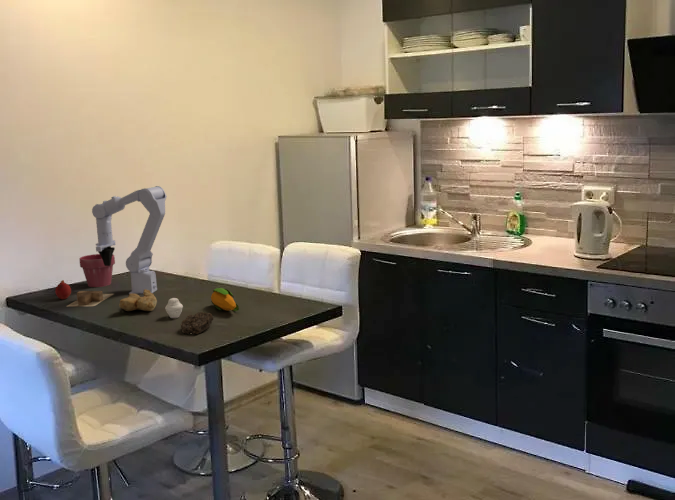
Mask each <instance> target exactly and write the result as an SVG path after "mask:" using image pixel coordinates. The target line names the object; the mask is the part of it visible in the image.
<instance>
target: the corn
mask: <svg viewBox="0 0 675 500" xmlns="http://www.w3.org/2000/svg"><path fill="white" fill-rule="evenodd" d="M210 299H211V301H210V302H211V304H212V305H213V306H214V307H215V308H216V309H218V310H219V311H222V310H223V311H233V312H238V311H239V310H240V308H239V305H238V304H237V303H236V302H235V300H234V295H233V293H232V292H231V291H230V290H229V289H227V288H224V287H220V288H219V287H217V288H215V289H213V290H212V293H211V296H210Z"/></svg>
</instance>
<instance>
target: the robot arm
mask: <svg viewBox="0 0 675 500" xmlns="http://www.w3.org/2000/svg"><path fill="white" fill-rule="evenodd" d="M166 200H167V193H166V191H165V190H164V188H163V187H161V186H160V185H159V186H158V185H156V186H154V187H147V188H145V187H144V188H141V189H137V190H134V191H132V192H131V193H129V194H127V195H123V196H122V197H121V196H116V195H113V196H112V197H111V198H110V199H109V200H103V201H102V203H96V204H95V205H93V207H92V209H91V214H92V216H93V217H94V218H95V221H96V233H97V243H95V251H96V252H97V253H98V254H100V255H101V257H102V260H103V263H104V265H105V266H110V265H111V260H112V255H114V251H115V247H114V246H116V240H114V239H113V230H112V229H113V228H112V218H113V217H112V216H113V215H114V214H116V213H119V212H121V211H124V210H125V208H126V206H127V205H129V204H132V203H134V202H140V203H141V204H142V206H143V207H144V208H145V209H146V211H147V212H148V213H149V215H148V218H147V220H146V222H145V226H144V228H143V231H142V233H141V236H140V238H139V241H138V244H137V246H136V247H135V249H134V250H132V252H131V253H130V256H128V257H127V258H126V260H125V266H126V268H127V270H128V271H129V274H130V281H131V282H130V284H131V291H130V292H128V294H131V293H134V294H143V292H144V289H147V290H150V292H151V293H153V294H154V293H155V292H156V291H158V285H157V276H156V275H157V274H156V272H155V271H154V270H150V266H151V265H152V263H153V255H154V254H153V252H152V251H151V250H152V248H153V245H154V243H155V240H156V238H157V237H158V233H159V230H160V227H161V225H162V222H163V220H164V217H165V215H166ZM112 246H113V247H112Z"/></svg>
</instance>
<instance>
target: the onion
mask: <svg viewBox="0 0 675 500" xmlns="http://www.w3.org/2000/svg"><path fill="white" fill-rule="evenodd" d="M54 292H55V295H56V297H57V298H58V299H61V300H66V299H68V298H69V297H70V296H71V293H72V288H71V286H70V285H69V284H68V283H66V282H65V280H60V281H59V283H58V284H57V285H56V287H55V290H54Z"/></svg>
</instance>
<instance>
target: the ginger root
mask: <svg viewBox="0 0 675 500" xmlns="http://www.w3.org/2000/svg"><path fill="white" fill-rule="evenodd" d="M128 294H129V293H128ZM142 294H143V296H140V295H139V294H138V293H131V294H129V295H128V296H127V297H124V298H122V299H120V300H119V304H118V307H119V308H120V309H122V310H124V311H127V312H131V311H135V310H137V311H144V312H152V311H154V310H155V308H156V306H157V304H158V300H157V297H156V296H155V294H154V292H153V293H151V292H150V290H147V289H144V292H143V293H142Z"/></svg>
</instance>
